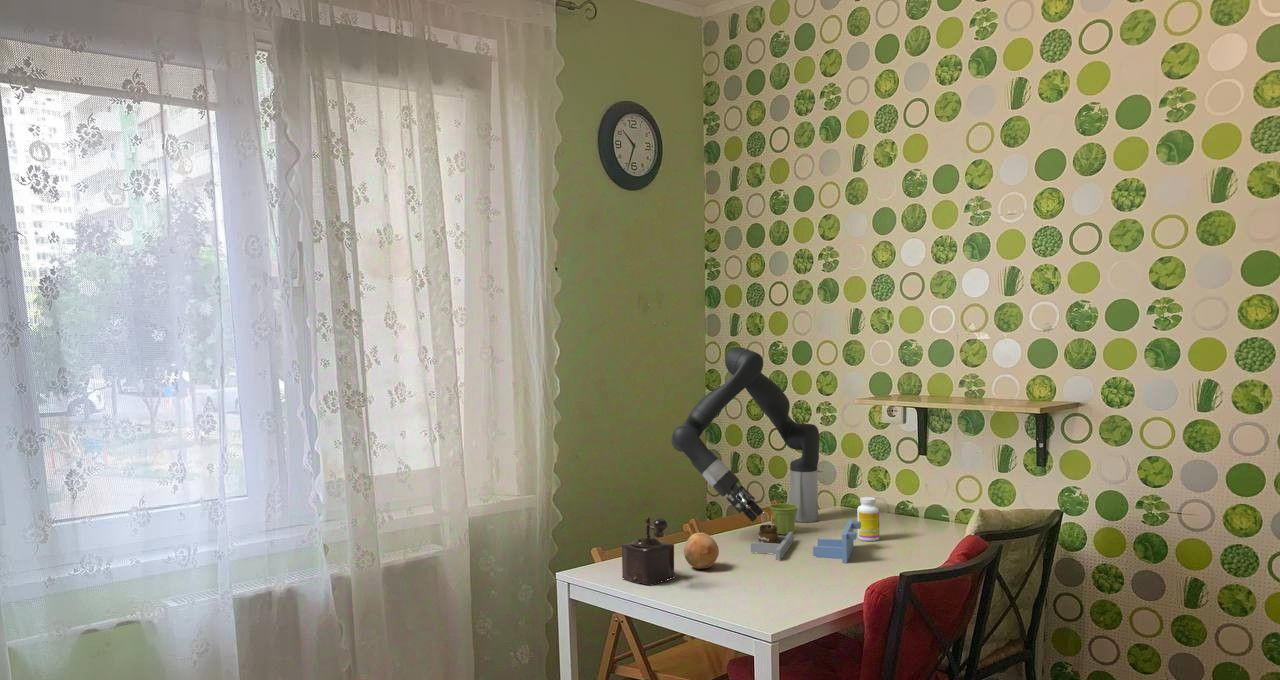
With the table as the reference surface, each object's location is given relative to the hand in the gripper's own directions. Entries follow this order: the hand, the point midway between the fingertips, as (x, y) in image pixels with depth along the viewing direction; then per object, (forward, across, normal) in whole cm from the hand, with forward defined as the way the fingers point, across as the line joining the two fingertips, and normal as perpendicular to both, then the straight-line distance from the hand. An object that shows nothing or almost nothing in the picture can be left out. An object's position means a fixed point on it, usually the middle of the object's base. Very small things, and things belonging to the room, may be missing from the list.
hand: (758, 516), depth 277 cm
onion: (-1, -26, +15) cm, 29 cm away
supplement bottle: (+29, +21, -14) cm, 38 cm away
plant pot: (+10, +23, +4) cm, 26 cm away
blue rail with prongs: (+23, 0, -10) cm, 25 cm away
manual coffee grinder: (-7, -40, +21) cm, 46 cm away
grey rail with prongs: (+9, 0, +5) cm, 10 cm away
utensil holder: (+9, 0, +5) cm, 10 cm away
